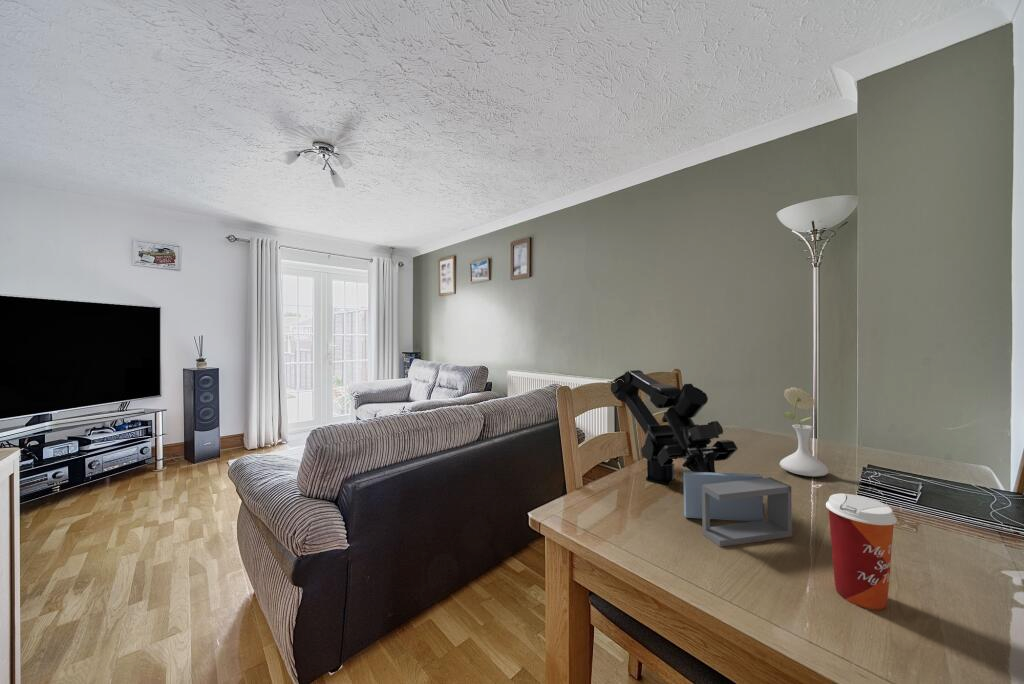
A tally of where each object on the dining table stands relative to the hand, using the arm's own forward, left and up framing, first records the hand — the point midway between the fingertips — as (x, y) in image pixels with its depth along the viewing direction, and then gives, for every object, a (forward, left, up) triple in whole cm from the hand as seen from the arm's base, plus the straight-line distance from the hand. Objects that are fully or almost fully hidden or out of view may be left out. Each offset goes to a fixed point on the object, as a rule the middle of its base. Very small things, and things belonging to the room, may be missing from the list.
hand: (714, 486), depth 86 cm
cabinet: (+6, -6, -7) cm, 11 cm away
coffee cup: (+22, -17, -7) cm, 29 cm away
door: (+2, -1, -6) cm, 7 cm away
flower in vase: (+18, +43, -7) cm, 47 cm away
